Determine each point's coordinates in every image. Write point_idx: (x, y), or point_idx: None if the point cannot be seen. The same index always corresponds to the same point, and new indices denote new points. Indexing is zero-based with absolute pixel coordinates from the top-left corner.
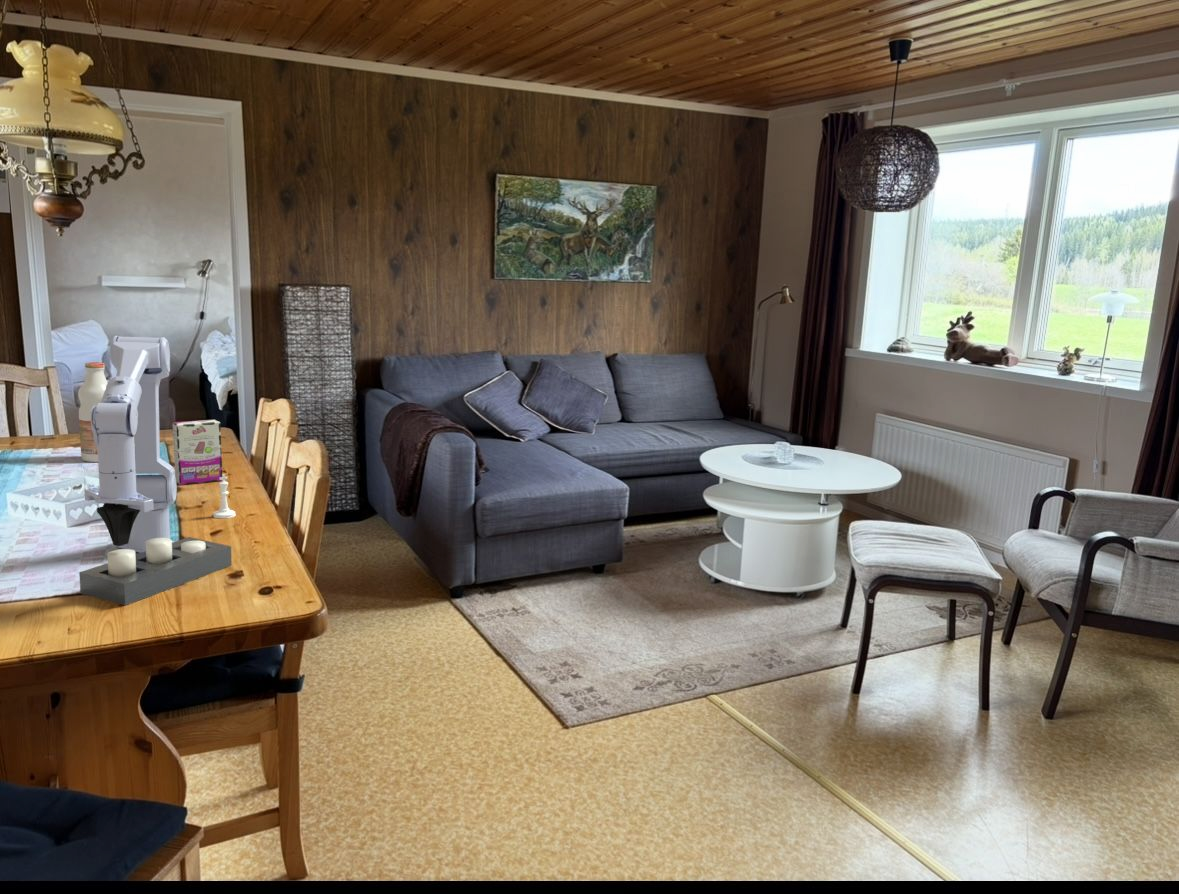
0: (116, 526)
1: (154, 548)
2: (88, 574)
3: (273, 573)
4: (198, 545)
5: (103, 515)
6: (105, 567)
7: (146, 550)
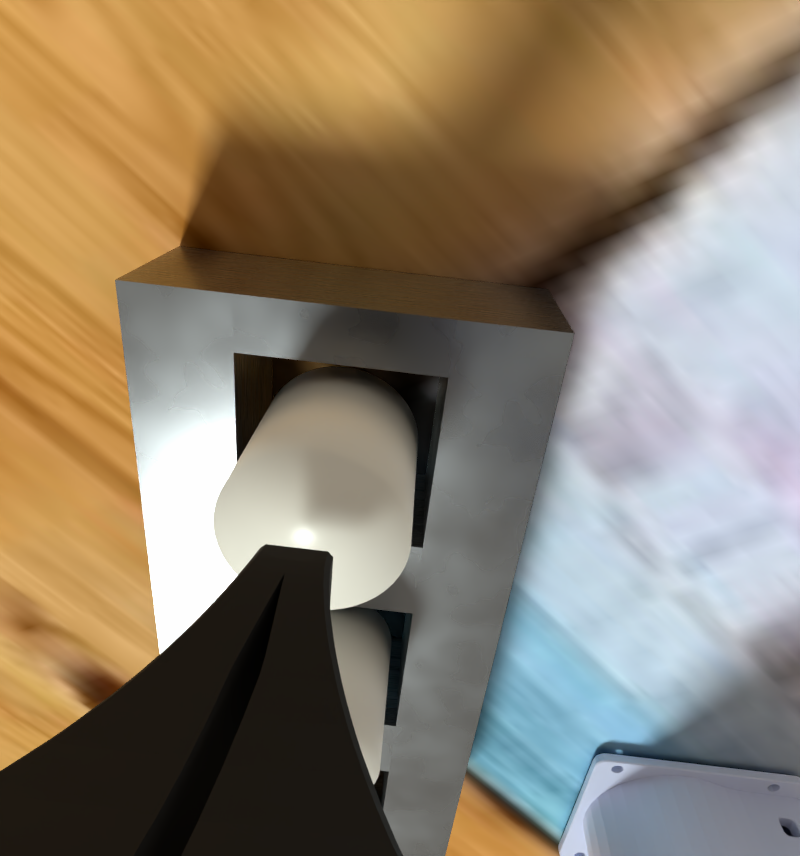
0: (127, 689)
1: None
2: (480, 324)
3: (15, 744)
4: None
5: (282, 835)
6: (481, 467)
7: (342, 674)
